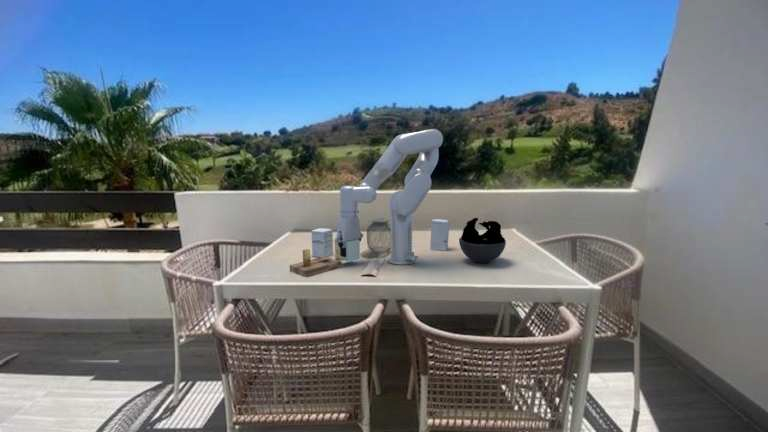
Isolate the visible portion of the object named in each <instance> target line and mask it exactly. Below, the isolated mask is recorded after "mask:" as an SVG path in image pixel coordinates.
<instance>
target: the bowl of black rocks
mask: <svg viewBox="0 0 768 432" xmlns="http://www.w3.org/2000/svg"><path fill="white" fill-rule="evenodd" d="M478 221H479V218H478V217H474V218H472V219H470V220H468V221H467V222H466V225H465V226H464V228H463V229H462V230H463V231H462V235H461V237H460V238H459V239H458V244H459V247H460V249H461V251H462V253H463V254H464V255H465V256H466V257H467V258H468V259H469V260H471V261H474V262H476V263H481V264H483V263H490V262H493V261H494V260H497V258H499V257H500V256H501V255H502V253H503V251H505V250H504V249H505V248H506V245H507V241H506V238H505V237H504V236H503V235H502V230H501V229H502V225H501V224H500V223H499V222H498V221H495V220H488V221H486V220H485V221H483V222H479V223H478V224H479V225H480V226H482V227H484V228H485V229H486V231H485V232H484V233H482V234H480V233H479V231H478V230H477V229H476V223H477V222H478Z"/></svg>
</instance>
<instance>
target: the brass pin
mask: <svg viewBox="0 0 768 432" xmlns="http://www.w3.org/2000/svg"><path fill="white" fill-rule="evenodd" d="M334 260H338V261H342V260H341V259H339V246H338V245H337V243H336V242H335V241H334Z"/></svg>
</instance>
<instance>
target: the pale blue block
mask: <svg viewBox="0 0 768 432" xmlns="http://www.w3.org/2000/svg"><path fill="white" fill-rule="evenodd" d="M339 241H340V240H339ZM360 242H361V241H360V240H359V239H356V240H351V241H346V245H345V248H346V257H342V256H340V247H339V259H341V260H340V261H345V262H352V261H353V262H354V261H356V260H360V259H361V256H360V254H361V253H360V250H361V249H360V247H361V246H360V245H361V244H360ZM342 244H343V242H342Z"/></svg>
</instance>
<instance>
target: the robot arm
mask: <svg viewBox="0 0 768 432" xmlns="http://www.w3.org/2000/svg"><path fill="white" fill-rule="evenodd" d="M443 141H444V137H443V134H442V132H441V131H440V130H438V129H436V128H430V129H429V128H428V129H425V130H424V129H423V130H421V131H414V132H410V133H409V132H407V133H402V134H399V135H396V136H395V138H393V139H392V141H391V143H390V144H389V145H388V147H387V148H386V150H384V151H383V154H382V155H381V157H379V159H378V160H377V162H376V163H375V164H374V166H373V167H372V169H370V170H369V172H368V173H367V174H366V176H365V177H364V179H363V180H362V181H361V182H360V183H359V186H357V185H342V186H341V187H340V189H339V194H340V195H339V201H340V203H339V204H340V205H339V206H340V208H339V209H340V211H339V213H340V216H339V217H338V221H337V226H336V237H335V238H334V240H333V242H334V243H335V242H336V243H337V245H338V246H339V247H340V256H342V257H346V248H345V245H346V241H351V240H356V239H359V240H360V242H361V241H362V239H363V237H364V233H362V232H361V223H360V217H359V213H360V211H359V203H361V204H371V203H373V202H374V201H376V199H377V190H378V188H379V187H380V185H382V183H383V182H385V180H386V179H389V177H391V176H392V175H393V174H395V172H396V171H397V169H398V168H399V167H400V165H401V164H402V162H403V161H404V160H405V159H406V157H407V155H415V154H419V155H418V157H417V159H416V161H415V162H414V164H413V166H412V167H411V169H410V170H409V171H408V173H407V174H406V175H405V178H404V188H403V189H402V190H397V191H395V192H393V194H392V195H391V196H390V199H389V213H390V214H389V215H390V256H388V257H387V258H386V260H387V263H390V264H393V265H398V266H399V265H403V266H404V265H411V264H414V263H416V262H417V261H418V259H419V256H418V255H415V252H414V251H413V214H414V213H415V212H416V211H417V209H418V208H419V207H420V205H421V203H422V202H423V201H424V199H425V197H426V196H427V194H428V193H429V192H430V189H431V187H432V178H431V175H432V173H433V171H434V170H435V168H436V166H437V164H438V162H439V156H440V155H439V154H440V153H439V148H440V147H441V146H442V144H443ZM339 240H340V241H339ZM342 242H343V244H342Z"/></svg>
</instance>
